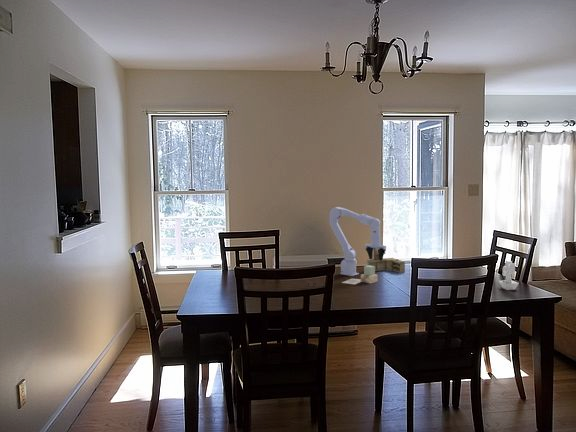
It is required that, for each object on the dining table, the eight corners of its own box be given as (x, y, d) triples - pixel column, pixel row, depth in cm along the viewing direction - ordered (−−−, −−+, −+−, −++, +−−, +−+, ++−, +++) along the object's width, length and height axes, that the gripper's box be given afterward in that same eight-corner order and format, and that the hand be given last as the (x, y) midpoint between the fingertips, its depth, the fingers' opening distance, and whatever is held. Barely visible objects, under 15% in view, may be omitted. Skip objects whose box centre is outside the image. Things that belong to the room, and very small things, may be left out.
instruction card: (341, 282, 265) (341, 282, 265) (351, 278, 274) (351, 278, 274) (355, 284, 259) (355, 284, 259) (365, 280, 269) (365, 279, 269)
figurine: (510, 286, 244) (510, 258, 243) (520, 290, 235) (520, 262, 233) (497, 286, 244) (497, 259, 243) (506, 291, 234) (506, 262, 233)
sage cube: (364, 274, 266) (364, 266, 265) (368, 273, 269) (368, 265, 268) (370, 275, 262) (370, 267, 262) (374, 274, 265) (374, 266, 265)
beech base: (360, 281, 266) (360, 274, 265) (368, 279, 271) (368, 272, 270) (370, 283, 261) (370, 276, 260) (377, 281, 265) (377, 274, 265)
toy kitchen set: (379, 275, 281) (378, 251, 280) (366, 270, 297) (366, 248, 296) (405, 272, 287) (405, 249, 285) (391, 268, 303) (391, 245, 301)
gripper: (362, 237, 282) (362, 259, 283) (381, 239, 271) (381, 262, 273) (369, 236, 287) (369, 257, 288) (388, 238, 276) (388, 260, 277)
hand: (375, 259), depth 281 cm, fingers open, 7 cm apart
